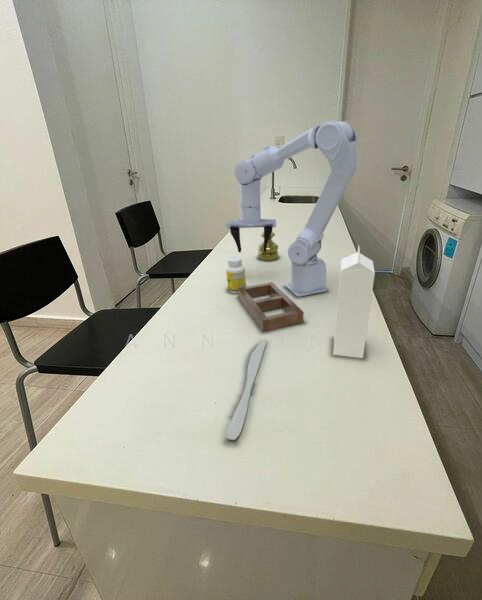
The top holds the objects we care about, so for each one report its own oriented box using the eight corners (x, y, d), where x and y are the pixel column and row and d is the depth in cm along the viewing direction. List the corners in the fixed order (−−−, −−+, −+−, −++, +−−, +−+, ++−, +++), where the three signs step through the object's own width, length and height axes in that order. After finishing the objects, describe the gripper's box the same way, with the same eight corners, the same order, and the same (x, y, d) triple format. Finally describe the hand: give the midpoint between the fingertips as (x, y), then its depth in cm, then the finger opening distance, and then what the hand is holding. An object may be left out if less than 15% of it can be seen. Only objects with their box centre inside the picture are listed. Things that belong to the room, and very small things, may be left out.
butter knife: (219, 436, 50) (238, 438, 50) (256, 339, 74) (269, 340, 73) (219, 439, 50) (238, 441, 50) (256, 342, 74) (269, 342, 73)
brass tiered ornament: (281, 256, 124) (281, 229, 119) (271, 262, 118) (271, 235, 114) (264, 253, 127) (264, 227, 123) (254, 259, 122) (253, 232, 117)
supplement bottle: (227, 286, 101) (225, 256, 96) (245, 285, 101) (243, 255, 97) (228, 294, 96) (225, 262, 91) (246, 293, 96) (245, 261, 92)
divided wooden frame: (272, 291, 97) (272, 281, 95) (303, 322, 80) (303, 311, 79) (238, 297, 94) (237, 288, 92) (263, 331, 77) (262, 320, 76)
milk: (333, 355, 68) (341, 254, 58) (334, 339, 74) (341, 243, 64) (363, 358, 67) (377, 255, 57) (362, 342, 72) (374, 244, 62)
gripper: (223, 209, 91) (227, 256, 98) (276, 207, 91) (276, 254, 97) (226, 204, 98) (229, 248, 104) (275, 202, 97) (275, 247, 103)
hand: (252, 251), depth 101 cm, fingers open, 7 cm apart
